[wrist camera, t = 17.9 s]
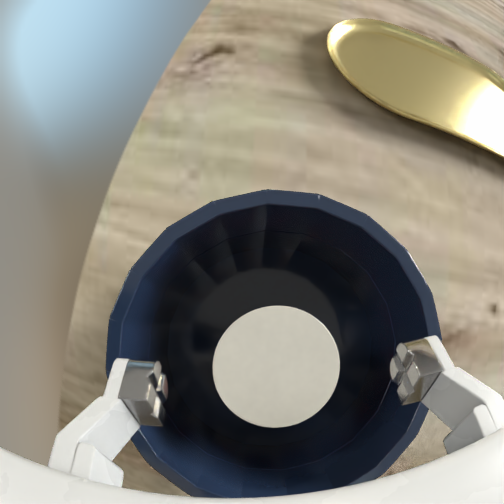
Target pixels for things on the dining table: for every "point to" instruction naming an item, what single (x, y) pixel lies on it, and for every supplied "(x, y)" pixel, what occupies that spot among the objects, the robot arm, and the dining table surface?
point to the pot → (263, 295)
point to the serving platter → (421, 80)
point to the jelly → (276, 366)
